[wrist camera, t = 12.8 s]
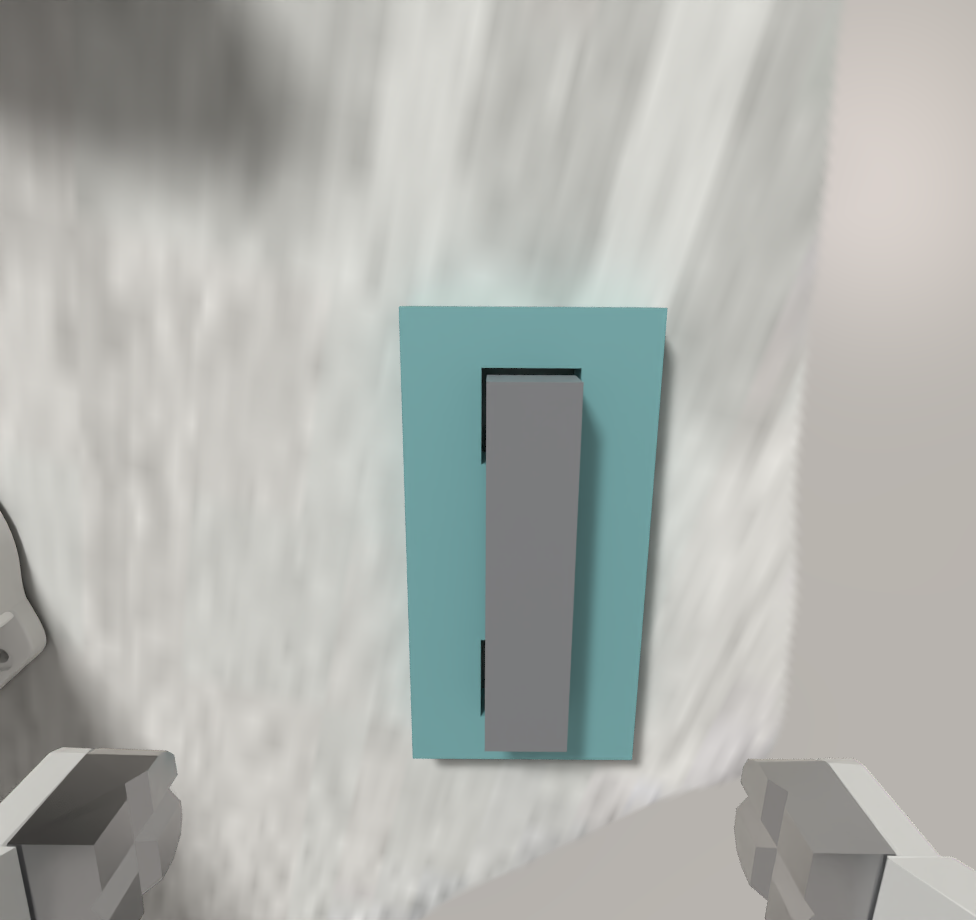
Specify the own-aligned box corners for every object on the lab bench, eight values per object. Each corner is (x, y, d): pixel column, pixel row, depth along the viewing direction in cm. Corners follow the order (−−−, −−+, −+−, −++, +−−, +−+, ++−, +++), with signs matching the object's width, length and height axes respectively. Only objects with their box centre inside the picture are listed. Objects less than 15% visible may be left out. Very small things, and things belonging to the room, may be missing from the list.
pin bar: (555, 682, 35) (566, 752, 29) (485, 682, 35) (484, 751, 29) (567, 368, 30) (583, 382, 25) (487, 367, 30) (486, 382, 25)
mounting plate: (622, 728, 35) (631, 759, 33) (418, 727, 35) (412, 758, 33) (652, 307, 29) (667, 308, 27) (406, 306, 29) (398, 306, 27)
